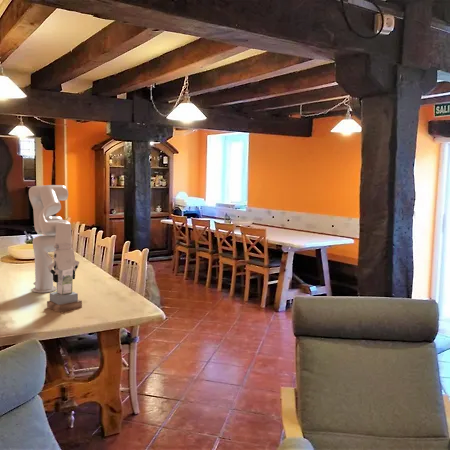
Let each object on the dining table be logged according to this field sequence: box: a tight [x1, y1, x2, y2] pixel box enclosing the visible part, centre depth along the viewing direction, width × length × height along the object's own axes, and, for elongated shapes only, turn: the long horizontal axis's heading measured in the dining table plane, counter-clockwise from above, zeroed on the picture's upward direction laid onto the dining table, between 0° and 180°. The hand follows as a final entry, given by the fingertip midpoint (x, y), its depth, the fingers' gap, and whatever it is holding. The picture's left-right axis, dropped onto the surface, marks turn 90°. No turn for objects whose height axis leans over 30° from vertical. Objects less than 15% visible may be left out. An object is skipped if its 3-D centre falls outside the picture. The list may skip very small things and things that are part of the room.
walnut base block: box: [46, 299, 83, 313], centre depth 237 cm, size 12×12×4 cm
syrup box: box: [56, 266, 74, 295], centre depth 236 cm, size 6×6×14 cm
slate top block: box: [49, 291, 79, 305], centre depth 237 cm, size 10×10×4 cm
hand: (64, 280), depth 235 cm, fingers open, 9 cm apart
